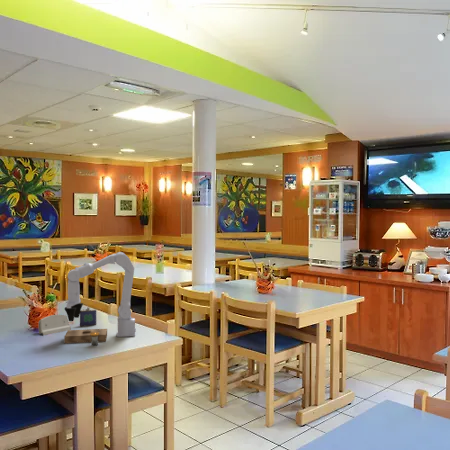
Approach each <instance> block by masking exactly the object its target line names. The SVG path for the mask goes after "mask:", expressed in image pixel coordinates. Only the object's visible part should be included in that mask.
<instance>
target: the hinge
mask: <svg viewBox="0 0 450 450" xmlns="http://www.w3.org/2000/svg"><path fill="white" fill-rule="evenodd" d="M69 322H70V321H69V319H68V315H66V314H65V315H64V314H52V315H49V316H46V317H45V316H44V317H43V318H41V319H40V320H39V321H38V334H39V335H40V334H42V336H47V335H53V334H56V333H62V332H67V331H68V330H72V327H71V325H70V323H69Z"/></svg>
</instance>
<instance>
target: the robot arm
mask: <svg viewBox="0 0 450 450" xmlns="http://www.w3.org/2000/svg"><path fill="white" fill-rule="evenodd" d="M108 264H111V265H112V264H113V265H115V264H117V265H118V266H120V267H121V268H123V270H124V277H123V284H122V290H121V291H122V293H121V300H120V305H119V306H118V308H117V312H118V316H117V332H116V337H117V338H119V337H121V338H123V337H135V336H136V332H137V330H136V318H135V317H132V316H131V315H132V310H131V298H132V292H133V291H132V289H133V283H134V282H133V281H134V275H135V274H134V273H135V266H134V264H133V263H132V261H131V259H130V257H128V255H126V254H125V252H122V251H118V252H116V253H112V254H110V255H108V256H105V257H103V258H101V259H99V260H97V261H95V262H93V263H90V262H84V263H83V265H81V266H79V267H78V266H76V267H75V268H74V269H71V270H69V272H67V279H68V280H67V297H68V298H67V300H66V301H65V304H66V307H64V311H65V313H66V316H67V319H68V322H74V320H75V318H76V319H77V318H78V319H80V311H81V309H82V307H83V305H84V303H83V302H81V301H82V300H81V298H80V297H81V296H80V295H81V294H80V279H82V278H83V279H84V278H85V277H86V276H89V275H92V274H93V273H94V272H95V271H96V269H99V268H101V267H104V266H106V265H108Z"/></svg>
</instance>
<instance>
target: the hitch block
mask: <svg viewBox="0 0 450 450" xmlns="http://www.w3.org/2000/svg"><path fill="white" fill-rule="evenodd" d="M91 332H99V335H98V343H100V342H101V343H102V342H105V343H106V342H107V337H108V328H95V329H93V328H92V329H90V328H89V329H88V328H87V329H71V330H68V331H66V333H65V335H64V336H63V338H64V339H63V341H64V344H80V343H81V344H82V343H92V336H90V333H91Z"/></svg>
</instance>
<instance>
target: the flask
mask: <svg viewBox="0 0 450 450" xmlns="http://www.w3.org/2000/svg"><path fill="white" fill-rule="evenodd" d="M79 326H80V327H92V326H97V309H90V306H88V307H87V308H86V309H85V308H84V309H82V310H80V315H79Z"/></svg>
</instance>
